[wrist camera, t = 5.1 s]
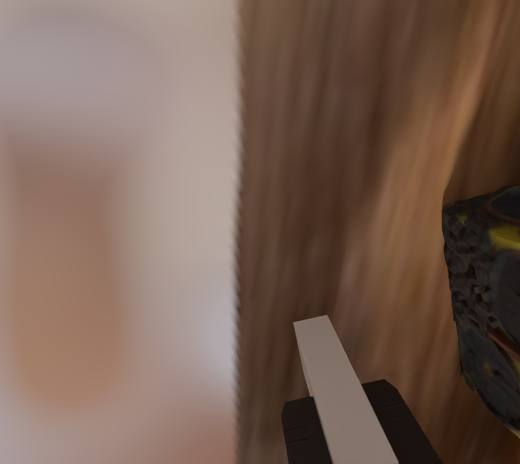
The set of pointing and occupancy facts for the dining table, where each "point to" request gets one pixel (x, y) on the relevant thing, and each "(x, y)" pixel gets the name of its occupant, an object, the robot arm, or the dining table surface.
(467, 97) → the dining table surface
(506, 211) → the candle
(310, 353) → the robot arm
